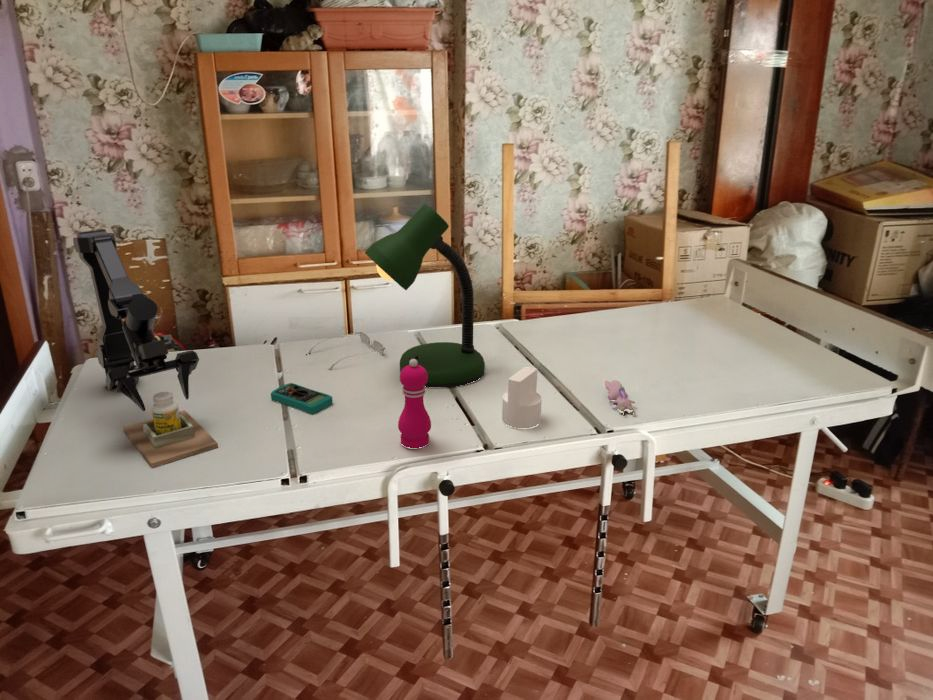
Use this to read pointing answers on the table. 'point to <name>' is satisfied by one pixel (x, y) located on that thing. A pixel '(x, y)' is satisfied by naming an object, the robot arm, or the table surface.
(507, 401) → the cylinder with rectangular tab
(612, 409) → the table surface
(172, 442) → the bottle holder
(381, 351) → the eyeglasses
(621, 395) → the rabbit figure
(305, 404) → the digital multimeter
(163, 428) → the supplement bottle
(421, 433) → the pepper mill
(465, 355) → the desk lamp
